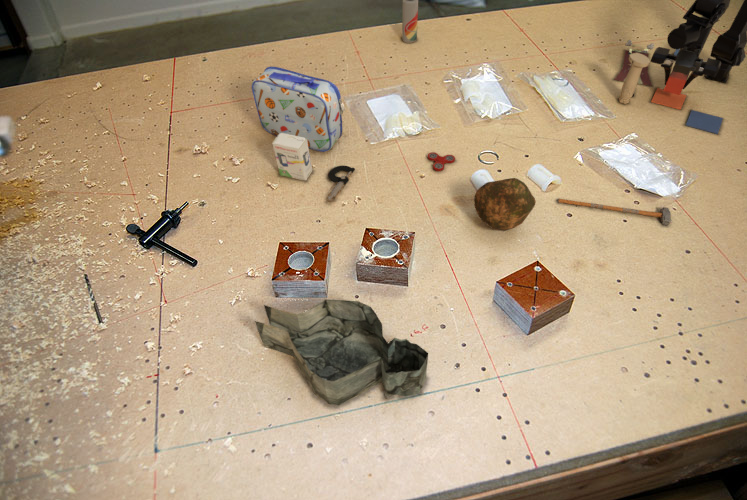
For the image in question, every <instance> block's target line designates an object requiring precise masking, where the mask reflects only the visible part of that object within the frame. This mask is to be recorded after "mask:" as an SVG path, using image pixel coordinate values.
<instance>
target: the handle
mask: <svg viewBox="0 0 747 500" xmlns="http://www.w3.org/2000/svg"><path fill="white" fill-rule="evenodd" d="M629 61H630V63H631V67H630V70H629V72H628V75H627V77H626V79H625V81H623V84H622V87H621V89H620V92H619V98H618V101H619V103H620V104H622V105H623V104H624V105H626V104H629V103H630V102H631V99H632V97H634V96H633V94H634V95H635V92H636V89H637V86H638V80H639V77H640V74H641V71H642V68H643V67H647V66H648V67H649V66H650V63H651V59H650V58H649V56H648V57H646V56H645V55H643V54H640V53H633V54H630V56H629Z"/></svg>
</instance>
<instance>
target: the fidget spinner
mask: <svg viewBox="0 0 747 500" xmlns="http://www.w3.org/2000/svg"><path fill="white" fill-rule="evenodd" d="M427 159H428V161H431V162H434V163H433V164H432V169H433V170H434V171H436V172H441V171H443V170H444V169H445V164H453V163H455V162H456V157H455V155H453V154H446V155H443V156H440V155H439V153H437V152H434V151H433V152H429V153H428V154H427Z"/></svg>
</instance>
